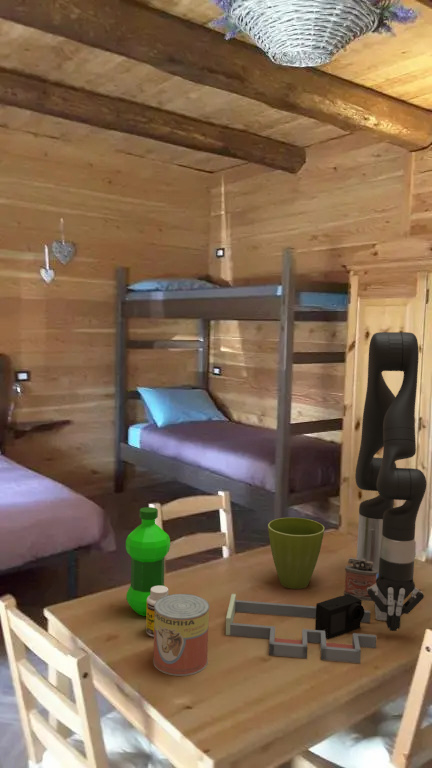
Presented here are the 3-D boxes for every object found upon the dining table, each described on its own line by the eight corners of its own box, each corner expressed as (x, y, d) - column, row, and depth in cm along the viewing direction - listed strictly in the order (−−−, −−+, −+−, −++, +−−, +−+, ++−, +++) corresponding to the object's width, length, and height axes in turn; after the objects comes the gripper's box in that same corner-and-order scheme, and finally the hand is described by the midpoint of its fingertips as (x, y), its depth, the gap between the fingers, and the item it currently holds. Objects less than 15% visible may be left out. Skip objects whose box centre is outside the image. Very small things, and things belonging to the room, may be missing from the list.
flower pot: (293, 600, 165) (296, 539, 164) (254, 581, 177) (256, 523, 175) (333, 586, 175) (336, 528, 173) (293, 568, 186) (295, 514, 184)
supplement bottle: (142, 636, 145) (142, 591, 144) (151, 625, 150) (152, 582, 149) (165, 640, 143) (166, 595, 142) (174, 629, 149) (175, 585, 147)
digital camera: (331, 642, 145) (332, 612, 144) (314, 632, 149) (316, 602, 148) (364, 630, 150) (365, 601, 150) (347, 621, 155) (348, 593, 154)
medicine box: (394, 622, 155) (396, 587, 154) (375, 620, 156) (377, 585, 155) (392, 608, 163) (394, 574, 162) (374, 606, 164) (375, 572, 163)
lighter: (376, 596, 169) (378, 559, 168) (375, 601, 166) (377, 564, 165) (344, 591, 172) (346, 554, 171) (343, 596, 168) (345, 559, 167)
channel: (231, 609, 159) (231, 593, 159) (369, 620, 155) (370, 604, 155) (221, 650, 139) (222, 632, 139) (379, 665, 136) (380, 646, 135)
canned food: (143, 667, 132) (144, 610, 131) (169, 642, 142) (170, 589, 141) (193, 681, 128) (194, 622, 126) (216, 654, 138) (218, 600, 137)
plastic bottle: (140, 598, 164) (142, 501, 161) (176, 608, 159) (178, 508, 156) (116, 613, 155) (117, 511, 153) (153, 624, 150) (155, 519, 148)
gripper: (424, 551, 149) (419, 624, 151) (365, 547, 151) (361, 619, 153) (430, 564, 142) (425, 640, 144) (368, 559, 143) (364, 634, 145)
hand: (392, 629), depth 148 cm, fingers closed
